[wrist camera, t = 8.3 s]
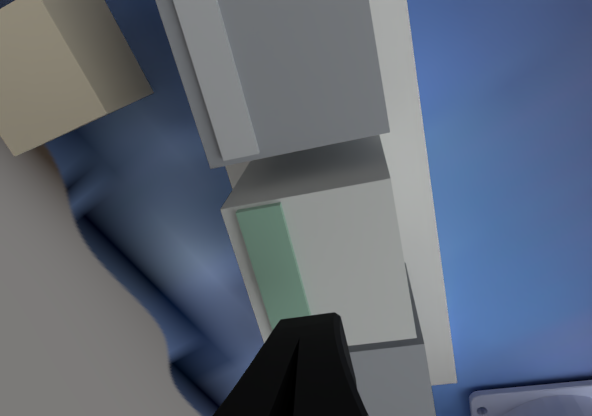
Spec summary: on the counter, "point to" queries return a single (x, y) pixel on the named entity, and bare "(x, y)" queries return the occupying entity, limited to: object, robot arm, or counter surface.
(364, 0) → the din rail
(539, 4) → the counter surface
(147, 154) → the counter surface
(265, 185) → the block
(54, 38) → the block
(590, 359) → the counter surface
